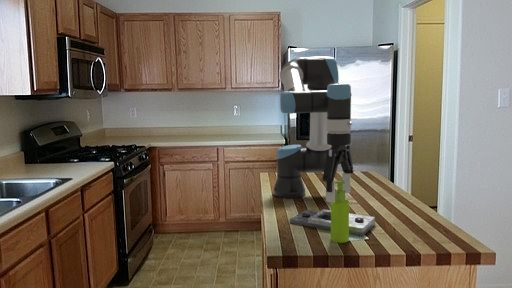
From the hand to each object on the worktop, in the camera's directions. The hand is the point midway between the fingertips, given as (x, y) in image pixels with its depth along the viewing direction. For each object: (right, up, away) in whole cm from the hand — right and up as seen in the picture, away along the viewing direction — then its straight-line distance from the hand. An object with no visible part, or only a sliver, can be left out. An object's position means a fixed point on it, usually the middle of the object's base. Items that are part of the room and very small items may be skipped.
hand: (338, 196), depth 133 cm
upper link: (+4, -13, +16) cm, 21 cm away
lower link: (-2, -12, +20) cm, 23 cm away
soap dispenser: (0, -15, +2) cm, 15 cm away
